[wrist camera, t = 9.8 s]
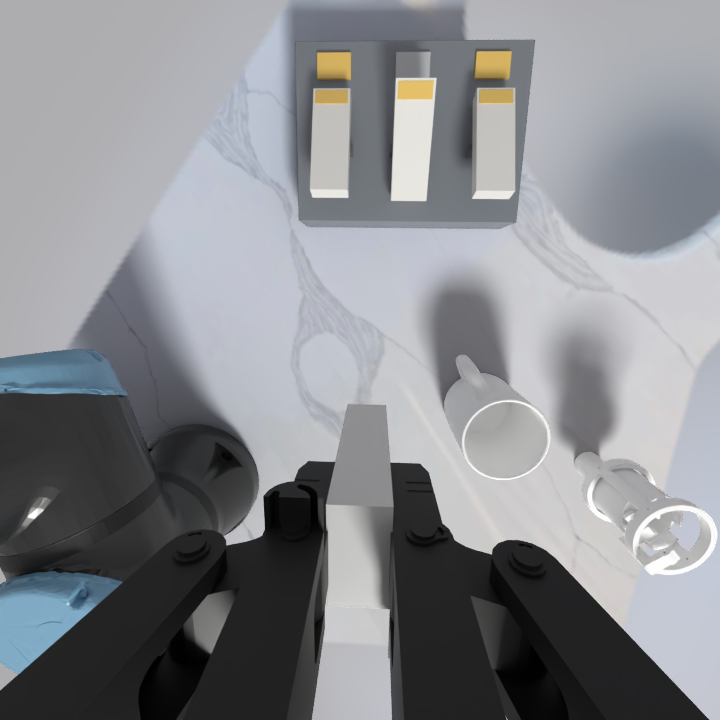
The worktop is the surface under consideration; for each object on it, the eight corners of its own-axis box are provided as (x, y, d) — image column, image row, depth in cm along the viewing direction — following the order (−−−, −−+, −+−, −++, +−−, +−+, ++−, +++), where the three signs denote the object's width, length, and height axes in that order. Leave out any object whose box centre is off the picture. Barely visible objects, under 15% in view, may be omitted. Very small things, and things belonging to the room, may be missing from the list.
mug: (419, 360, 44) (432, 385, 34) (485, 331, 43) (519, 348, 33) (457, 445, 46) (480, 492, 36) (521, 419, 45) (562, 461, 35)
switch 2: (390, 199, 35) (391, 200, 34) (395, 81, 30) (396, 77, 29) (424, 199, 35) (426, 201, 33) (434, 80, 30) (436, 77, 29)
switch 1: (312, 197, 33) (309, 189, 31) (316, 100, 33) (313, 87, 32) (348, 197, 33) (347, 189, 31) (351, 100, 33) (350, 87, 32)
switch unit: (307, 226, 41) (295, 217, 35) (305, 71, 38) (291, 30, 31) (499, 228, 40) (522, 220, 34) (514, 70, 37) (542, 28, 31)
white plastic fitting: (546, 459, 46) (625, 544, 31) (595, 425, 45) (702, 498, 30) (578, 498, 47) (670, 599, 32) (627, 466, 46) (745, 556, 31)
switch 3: (471, 198, 32) (476, 190, 31) (472, 100, 33) (477, 87, 31) (508, 199, 32) (515, 190, 31) (509, 100, 33) (515, 87, 31)
